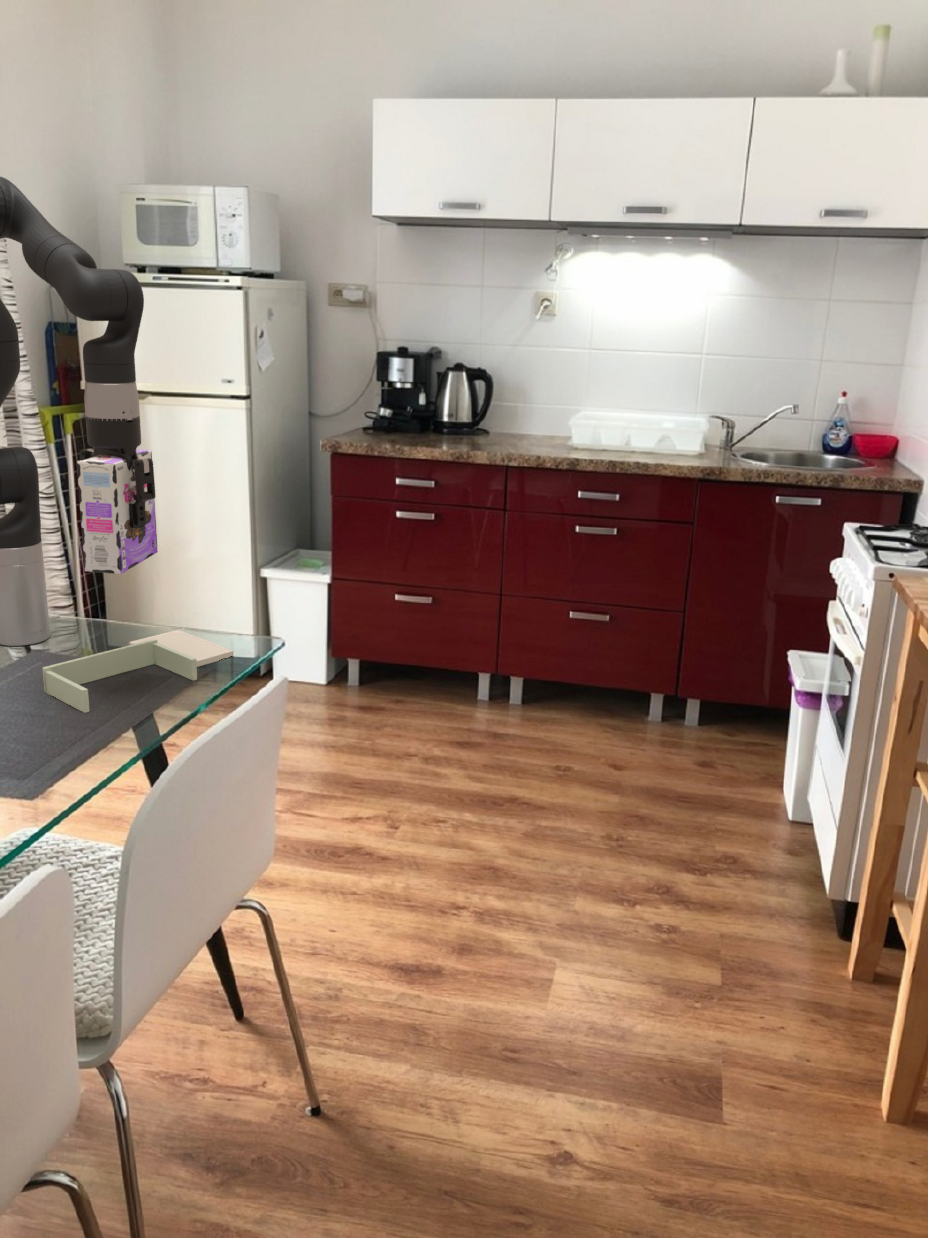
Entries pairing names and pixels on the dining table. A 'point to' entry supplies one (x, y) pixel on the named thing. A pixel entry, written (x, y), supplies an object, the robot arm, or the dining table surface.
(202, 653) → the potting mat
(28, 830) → the dining table surface
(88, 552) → the candy box
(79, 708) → the green u-shaped frame
